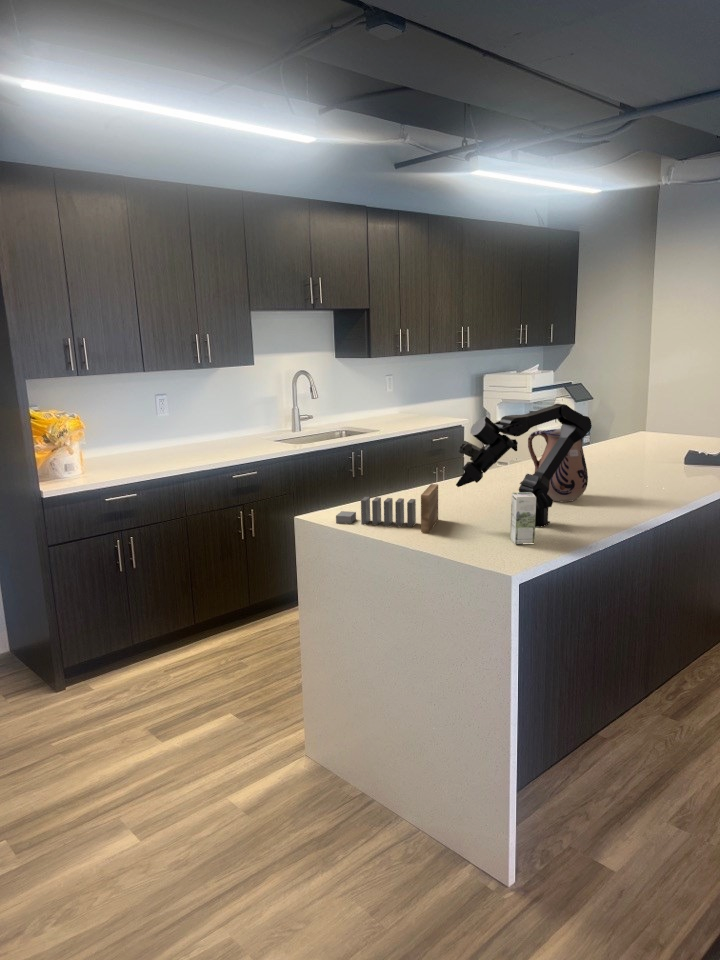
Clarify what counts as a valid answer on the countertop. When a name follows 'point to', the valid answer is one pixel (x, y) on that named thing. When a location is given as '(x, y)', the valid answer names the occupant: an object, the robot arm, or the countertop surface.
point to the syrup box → (523, 517)
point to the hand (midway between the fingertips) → (457, 485)
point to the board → (429, 508)
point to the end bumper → (345, 517)
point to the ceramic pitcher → (563, 468)
